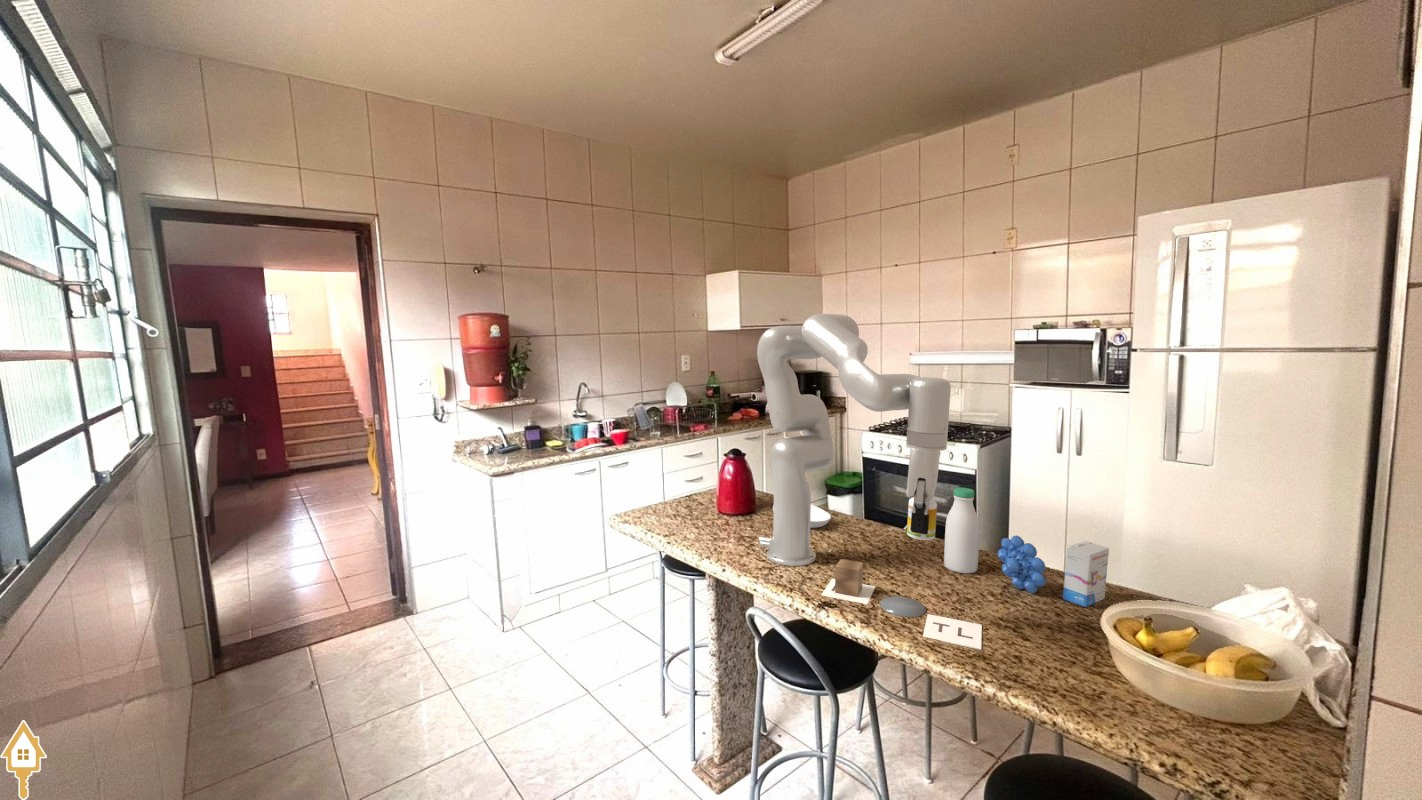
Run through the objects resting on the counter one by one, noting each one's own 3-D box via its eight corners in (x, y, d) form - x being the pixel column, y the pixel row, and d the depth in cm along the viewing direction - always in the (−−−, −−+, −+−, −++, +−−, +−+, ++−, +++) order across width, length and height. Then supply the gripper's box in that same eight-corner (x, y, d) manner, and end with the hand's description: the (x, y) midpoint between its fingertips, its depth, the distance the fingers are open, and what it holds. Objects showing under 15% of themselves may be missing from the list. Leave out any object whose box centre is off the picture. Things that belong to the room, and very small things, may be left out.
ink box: (1086, 608, 119) (1090, 554, 117) (1061, 599, 123) (1065, 546, 122) (1106, 599, 123) (1109, 546, 122) (1081, 590, 127) (1084, 539, 126)
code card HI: (820, 596, 124) (820, 594, 124) (832, 579, 133) (832, 578, 133) (867, 605, 120) (867, 604, 120) (875, 587, 129) (875, 586, 129)
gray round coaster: (877, 612, 116) (877, 610, 116) (884, 595, 125) (884, 593, 125) (923, 621, 113) (923, 619, 113) (927, 603, 121) (927, 601, 121)
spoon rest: (838, 528, 172) (839, 505, 171) (808, 534, 166) (808, 510, 165) (791, 508, 192) (791, 488, 191) (762, 513, 186) (762, 492, 186)
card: (922, 637, 107) (922, 636, 106) (927, 615, 115) (927, 613, 115) (981, 650, 102) (981, 648, 102) (981, 625, 111) (981, 624, 111)
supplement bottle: (932, 532, 116) (935, 486, 115) (937, 542, 111) (940, 494, 110) (905, 530, 117) (907, 484, 116) (908, 539, 112) (911, 491, 111)
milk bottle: (981, 575, 136) (985, 494, 134) (947, 572, 137) (950, 492, 135) (973, 563, 143) (976, 486, 141) (940, 561, 145) (944, 484, 143)
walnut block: (835, 592, 125) (835, 566, 125) (840, 584, 130) (840, 559, 129) (857, 597, 123) (858, 570, 123) (862, 588, 128) (862, 562, 127)
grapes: (984, 582, 132) (986, 532, 130) (1004, 577, 134) (1006, 528, 133) (1030, 603, 121) (1033, 548, 120) (1051, 597, 124) (1054, 544, 123)
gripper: (911, 431, 121) (906, 513, 123) (900, 445, 106) (895, 538, 108) (949, 435, 118) (943, 519, 120) (943, 449, 102) (937, 545, 104)
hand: (920, 527), depth 114 cm, fingers closed on supplement bottle, 5 cm apart
